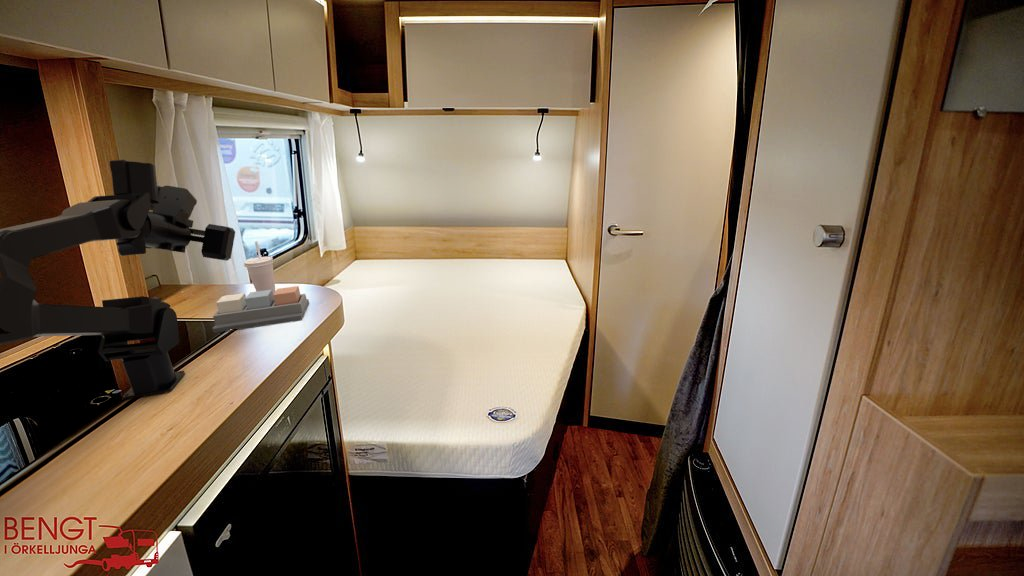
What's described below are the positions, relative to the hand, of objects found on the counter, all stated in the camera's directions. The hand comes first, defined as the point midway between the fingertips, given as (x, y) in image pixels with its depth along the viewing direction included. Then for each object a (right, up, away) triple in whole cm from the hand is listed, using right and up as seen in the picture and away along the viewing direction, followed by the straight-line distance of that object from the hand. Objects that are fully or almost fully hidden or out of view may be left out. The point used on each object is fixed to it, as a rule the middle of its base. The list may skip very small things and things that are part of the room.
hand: (202, 241), depth 94 cm
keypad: (+8, -16, +9) cm, 20 cm away
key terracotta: (+13, -12, +9) cm, 20 cm away
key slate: (+8, -13, +8) cm, 17 cm away
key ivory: (+2, -14, +6) cm, 15 cm away
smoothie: (+2, -12, +22) cm, 25 cm away
